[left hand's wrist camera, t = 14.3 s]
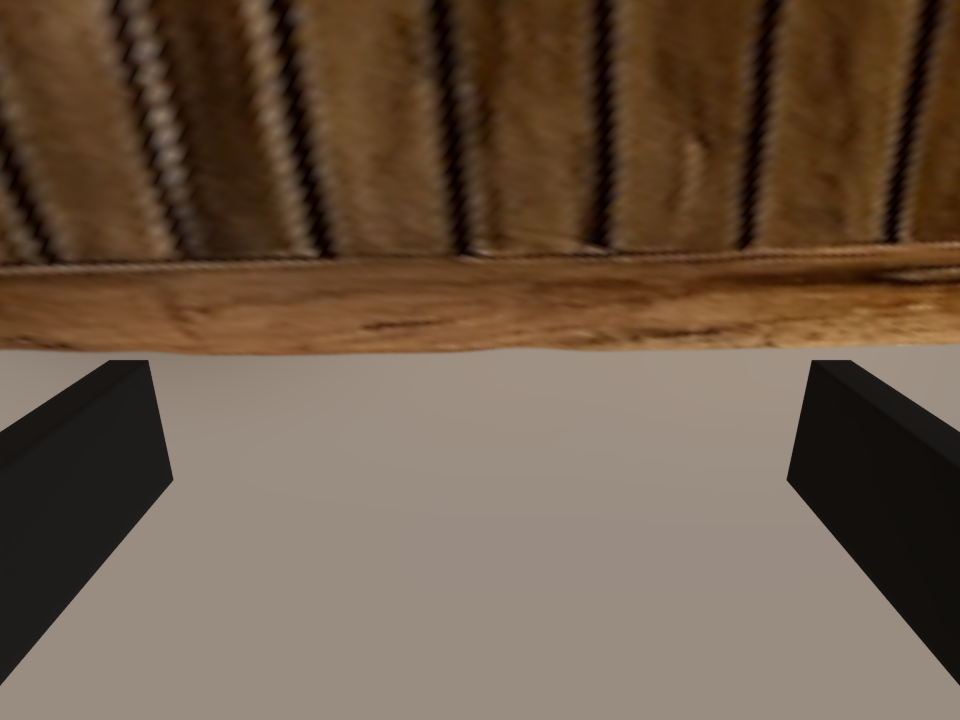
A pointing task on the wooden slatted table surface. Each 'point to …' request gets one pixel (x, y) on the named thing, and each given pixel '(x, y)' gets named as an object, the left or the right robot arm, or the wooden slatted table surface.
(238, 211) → the wooden slatted table surface
